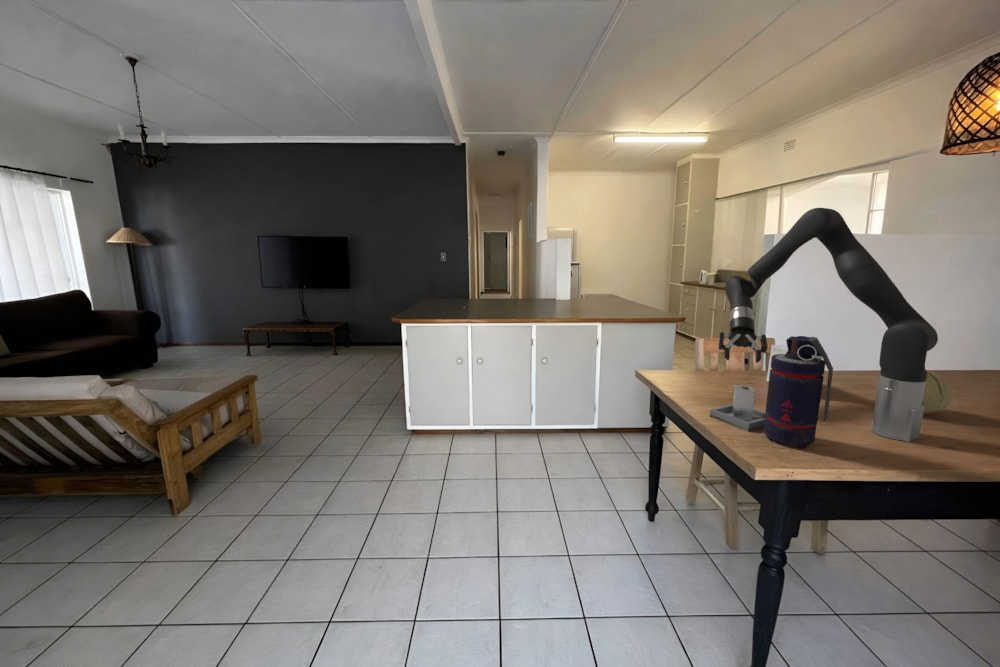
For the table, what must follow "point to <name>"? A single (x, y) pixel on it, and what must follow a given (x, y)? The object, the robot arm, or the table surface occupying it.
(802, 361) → the grenade
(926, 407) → the honeydew melon
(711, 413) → the tray
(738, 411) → the grey tall block
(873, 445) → the table surface
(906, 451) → the table surface
